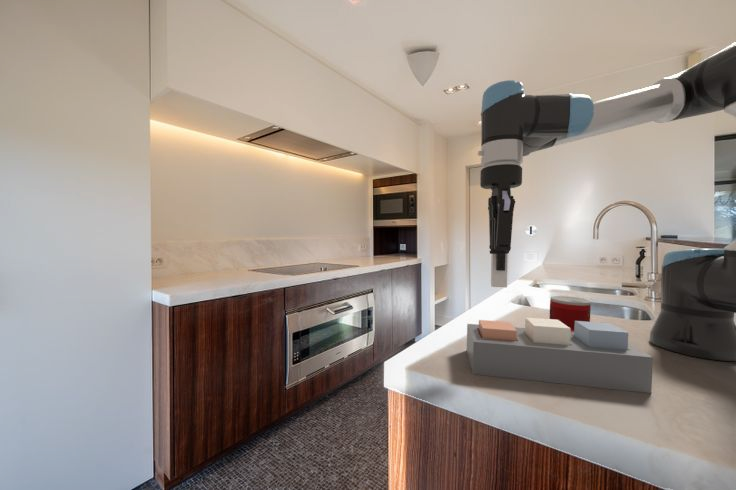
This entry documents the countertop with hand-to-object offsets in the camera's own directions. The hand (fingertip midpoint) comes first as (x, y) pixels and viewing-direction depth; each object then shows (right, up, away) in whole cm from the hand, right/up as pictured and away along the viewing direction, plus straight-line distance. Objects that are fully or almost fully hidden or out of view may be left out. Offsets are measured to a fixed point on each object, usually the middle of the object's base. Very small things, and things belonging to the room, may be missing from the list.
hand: (498, 286), depth 61 cm
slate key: (+17, -12, -4) cm, 21 cm away
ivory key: (+8, -12, -2) cm, 15 cm away
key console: (+8, -16, -1) cm, 18 cm away
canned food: (+22, -16, +12) cm, 29 cm away
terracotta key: (0, -13, 0) cm, 13 cm away
